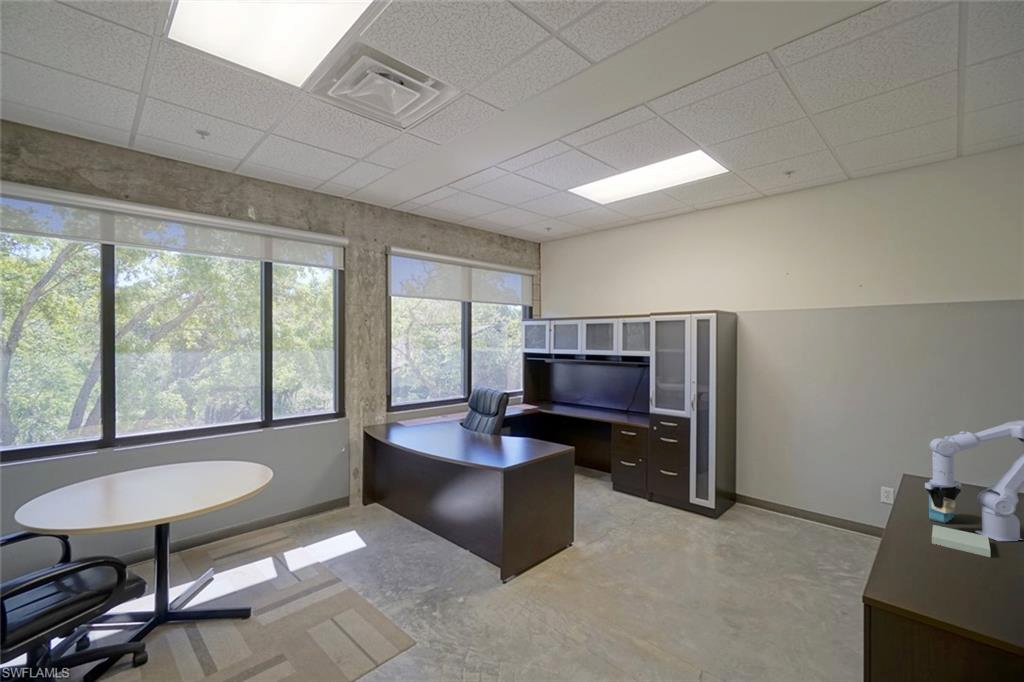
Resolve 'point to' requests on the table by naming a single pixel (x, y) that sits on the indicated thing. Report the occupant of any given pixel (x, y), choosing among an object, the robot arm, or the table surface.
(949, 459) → the robot arm
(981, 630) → the table surface
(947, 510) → the maple block
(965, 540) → the base board
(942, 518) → the data package
